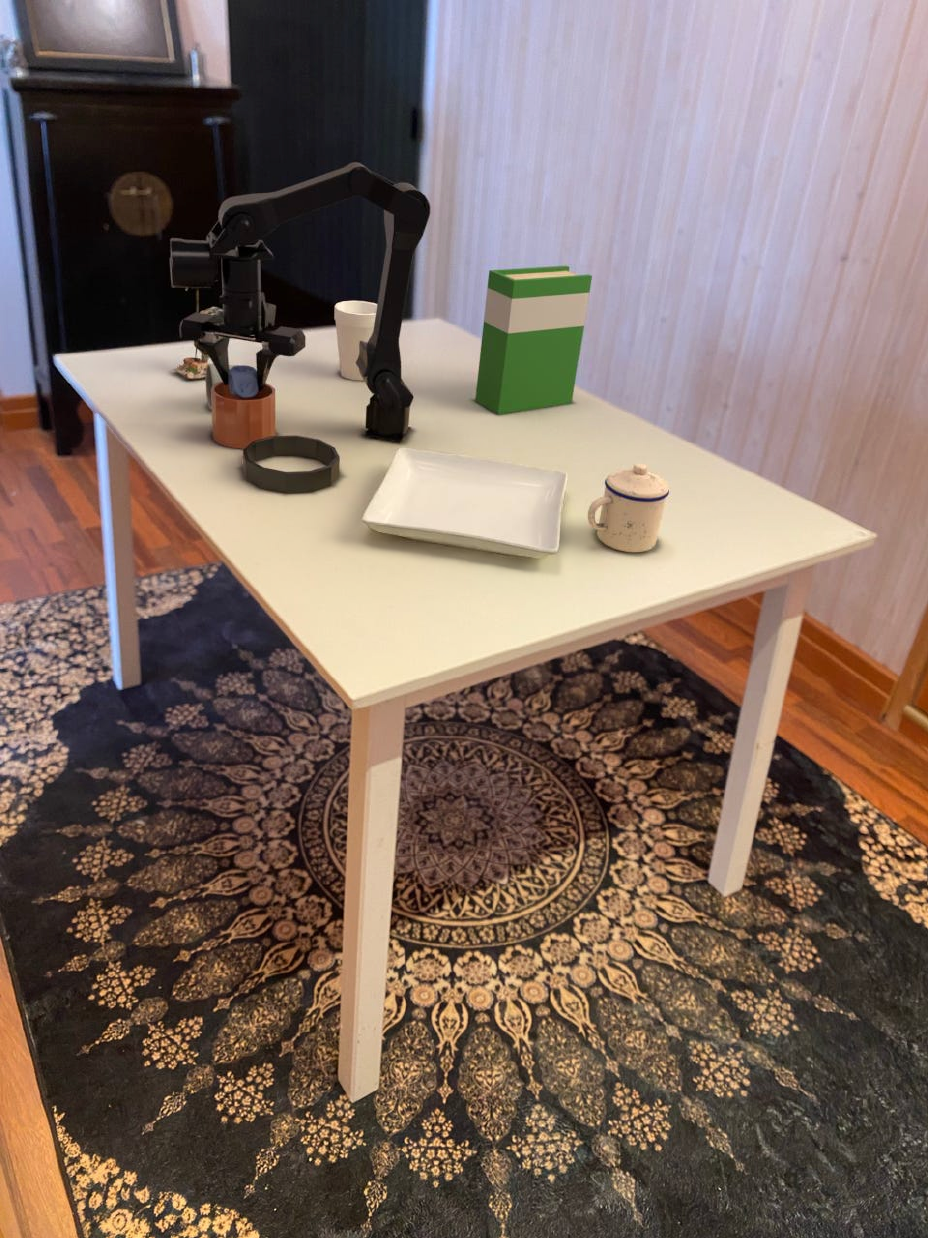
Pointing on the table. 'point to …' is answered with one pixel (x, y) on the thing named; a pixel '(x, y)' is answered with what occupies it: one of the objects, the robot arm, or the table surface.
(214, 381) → the ceramic mug
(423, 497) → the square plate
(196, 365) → the plant with pod
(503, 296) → the hardback book
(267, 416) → the terracotta cup
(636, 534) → the teacup with lid
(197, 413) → the table surface
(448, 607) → the table surface
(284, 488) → the dark grey ring
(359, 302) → the foam cup
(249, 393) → the decorative dice
